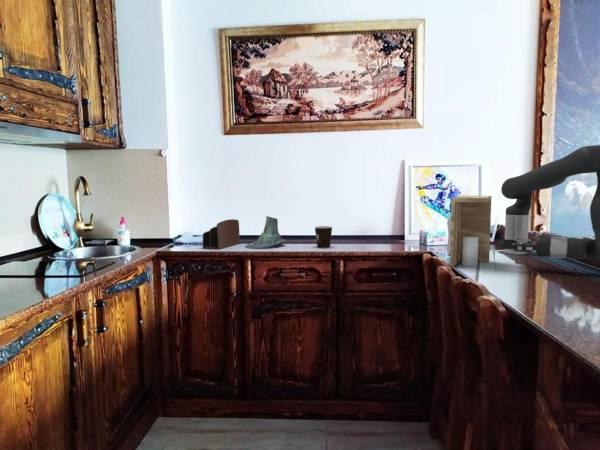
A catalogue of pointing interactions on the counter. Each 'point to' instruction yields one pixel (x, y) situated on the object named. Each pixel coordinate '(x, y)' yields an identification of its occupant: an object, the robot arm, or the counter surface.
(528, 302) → the counter surface
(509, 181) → the robot arm
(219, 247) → the letter holder
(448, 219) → the plastic bottle
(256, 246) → the tree stump
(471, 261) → the white upright cylinder
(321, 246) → the coffee mug
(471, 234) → the cubby
